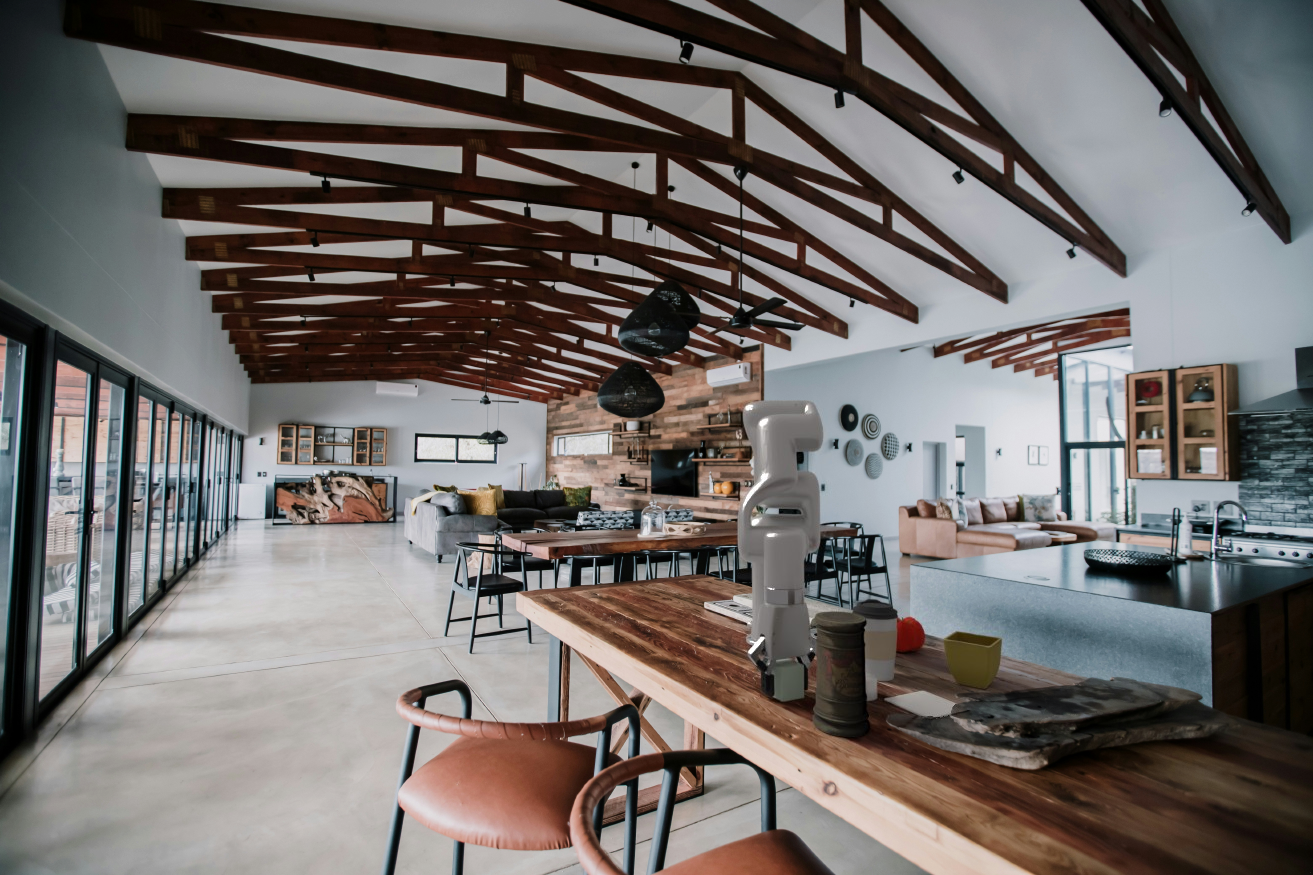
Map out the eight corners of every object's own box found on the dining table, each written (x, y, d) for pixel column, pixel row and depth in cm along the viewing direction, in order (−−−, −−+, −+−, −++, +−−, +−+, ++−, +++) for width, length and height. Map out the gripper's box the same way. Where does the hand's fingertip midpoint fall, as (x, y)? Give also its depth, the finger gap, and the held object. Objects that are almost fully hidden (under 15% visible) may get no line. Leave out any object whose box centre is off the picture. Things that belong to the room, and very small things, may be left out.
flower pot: (943, 684, 121) (942, 638, 122) (957, 673, 128) (956, 630, 128) (992, 695, 115) (990, 646, 116) (1004, 683, 122) (1002, 637, 122)
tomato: (877, 650, 145) (876, 618, 145) (890, 642, 151) (890, 611, 152) (918, 658, 139) (917, 624, 139) (930, 649, 145) (929, 617, 146)
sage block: (766, 692, 116) (766, 660, 117) (787, 689, 119) (787, 657, 119) (782, 701, 112) (782, 668, 112) (804, 697, 114) (803, 664, 114)
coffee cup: (903, 684, 121) (901, 607, 122) (855, 681, 123) (854, 605, 124) (895, 670, 130) (893, 598, 131) (850, 667, 132) (849, 596, 133)
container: (802, 720, 103) (801, 612, 104) (844, 712, 107) (843, 608, 108) (837, 741, 95) (836, 624, 96) (882, 732, 99) (880, 619, 100)
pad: (884, 700, 113) (884, 698, 113) (923, 691, 117) (923, 690, 117) (929, 719, 104) (929, 718, 104) (969, 710, 108) (969, 708, 108)
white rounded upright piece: (837, 692, 117) (836, 674, 117) (860, 688, 119) (860, 669, 120) (860, 703, 111) (859, 683, 112) (884, 698, 114) (883, 679, 114)
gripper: (807, 588, 123) (808, 678, 122) (734, 596, 116) (735, 691, 115) (833, 595, 117) (834, 690, 116) (757, 603, 109) (758, 705, 108)
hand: (784, 690), depth 115 cm, fingers open, 7 cm apart
